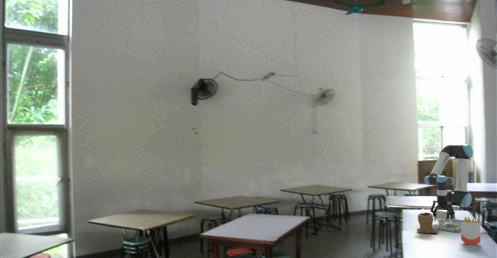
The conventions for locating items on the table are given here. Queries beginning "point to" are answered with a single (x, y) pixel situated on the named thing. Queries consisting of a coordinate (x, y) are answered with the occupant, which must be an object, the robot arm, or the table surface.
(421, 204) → the table surface
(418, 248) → the table surface
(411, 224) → the table surface
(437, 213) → the pneumatic valve
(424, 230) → the stone cup
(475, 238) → the french fries container
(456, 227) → the docking tray
